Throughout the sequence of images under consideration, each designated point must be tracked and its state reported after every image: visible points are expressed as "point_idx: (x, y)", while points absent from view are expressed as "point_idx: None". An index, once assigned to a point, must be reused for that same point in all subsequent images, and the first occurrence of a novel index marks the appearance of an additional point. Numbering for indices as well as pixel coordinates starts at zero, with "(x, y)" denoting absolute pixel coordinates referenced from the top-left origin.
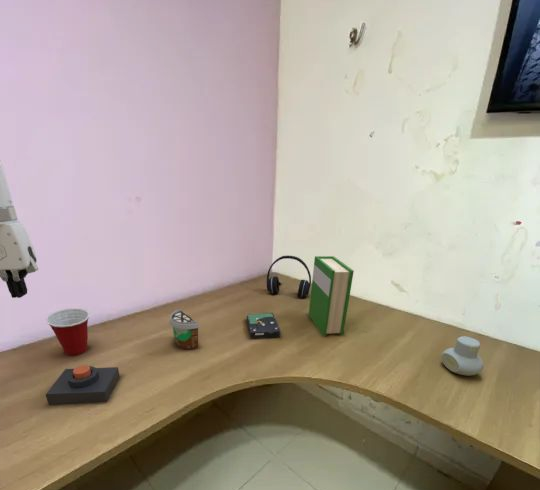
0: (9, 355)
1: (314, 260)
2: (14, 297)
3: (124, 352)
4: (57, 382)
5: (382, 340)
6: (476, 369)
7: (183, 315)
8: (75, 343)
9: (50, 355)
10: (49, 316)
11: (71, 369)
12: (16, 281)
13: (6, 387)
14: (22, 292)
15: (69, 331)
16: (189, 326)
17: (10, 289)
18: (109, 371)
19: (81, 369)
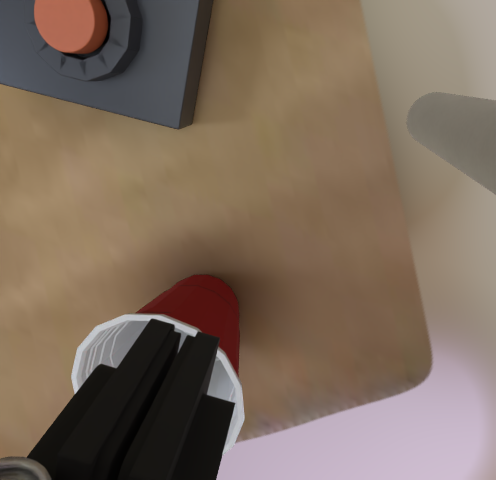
0: (422, 347)
1: None
2: (199, 333)
3: (45, 240)
4: (183, 33)
5: None
6: None
7: None
8: (174, 290)
9: (285, 302)
10: (235, 422)
11: (155, 117)
12: (36, 463)
13: (387, 135)
14: (112, 367)
15: (156, 310)
16: None
17: (182, 393)
18: (15, 58)
19: (63, 16)
